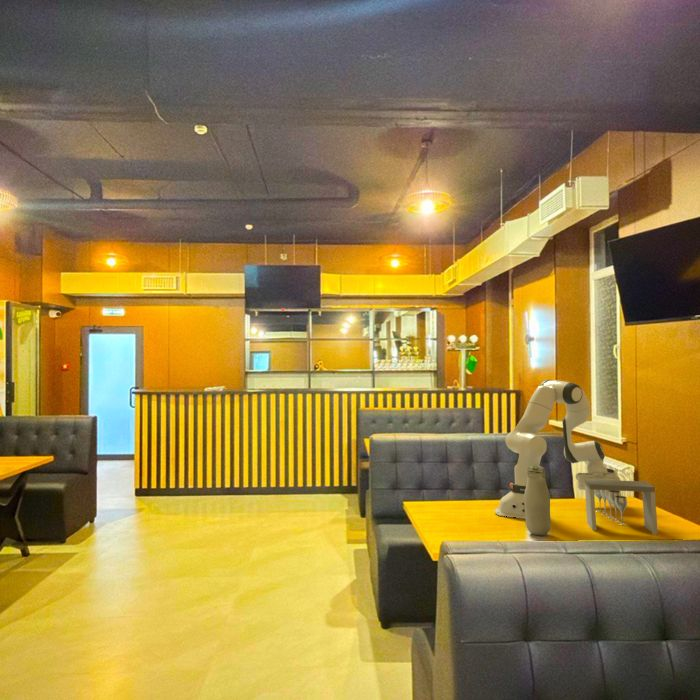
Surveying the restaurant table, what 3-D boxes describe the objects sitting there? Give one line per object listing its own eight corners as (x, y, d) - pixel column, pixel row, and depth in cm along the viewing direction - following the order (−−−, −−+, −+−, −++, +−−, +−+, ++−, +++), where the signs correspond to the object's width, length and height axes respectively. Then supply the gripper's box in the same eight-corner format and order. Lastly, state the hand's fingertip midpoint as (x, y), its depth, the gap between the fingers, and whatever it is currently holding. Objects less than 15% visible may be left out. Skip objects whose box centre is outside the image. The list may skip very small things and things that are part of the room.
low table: (592, 530, 196) (589, 484, 197) (587, 522, 207) (584, 479, 209) (657, 534, 189) (654, 487, 190) (648, 526, 200) (645, 481, 202)
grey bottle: (526, 537, 189) (522, 467, 191) (526, 529, 198) (523, 463, 200) (552, 539, 185) (548, 468, 187) (551, 531, 195) (547, 464, 197)
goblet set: (632, 526, 201) (630, 495, 202) (618, 526, 201) (616, 495, 202) (604, 509, 228) (602, 482, 230) (591, 509, 229) (590, 482, 230)
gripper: (575, 469, 242) (579, 492, 232) (619, 470, 236) (625, 494, 226) (574, 476, 246) (578, 499, 236) (617, 477, 240) (624, 501, 230)
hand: (602, 497), depth 231 cm, fingers closed
